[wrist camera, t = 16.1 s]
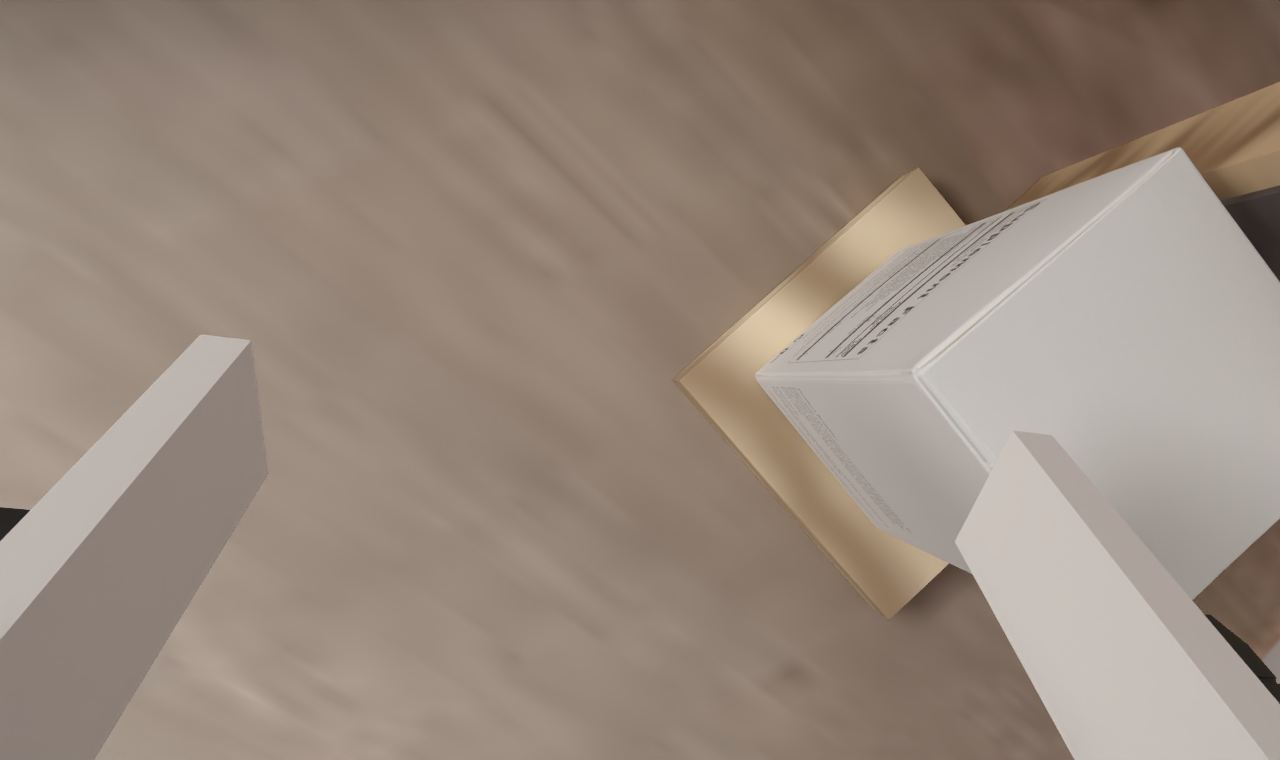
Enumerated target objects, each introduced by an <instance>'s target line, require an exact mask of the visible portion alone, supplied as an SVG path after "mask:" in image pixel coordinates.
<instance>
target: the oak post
mask: <svg viewBox="0 0 1280 760" xmlns="http://www.w3.org/2000/svg"><path fill="white" fill-rule="evenodd" d="M1178 147H1181V148H1182V149H1183V150H1184V152H1185V153H1186V155H1187V156H1188V157H1189V159H1190V160H1191V162H1192V163H1193V164H1194V166H1195V167H1196V169H1197V170H1198V171H1199V173H1200V174H1201V175H1202V177H1203V178H1204V180H1205V181H1206V182H1207V184H1208V185H1209V186H1210V188H1211V189H1212V190H1213V192H1214V193H1215V195H1216V196H1217V197H1218V199H1219V200H1220V201H1221V203H1222V204H1223V206H1224V207H1225V208H1226V210H1227V211H1228V212H1229V214H1230V215H1231V216H1232V218H1233V219H1234V220H1235V222H1236V223H1237V225H1238V226H1239V227H1240V229H1241V230H1242V231H1243V233H1244V234H1245V235H1246V237H1247V238H1248V239H1249V241H1250V242H1251V244H1252V245H1253V246H1254V248H1255V249H1256V250H1257V252H1258V253H1259V254H1260V256H1261V257H1262V258H1263V260H1264V261H1265V263H1266V264H1267V265H1268V267H1269V268H1270V269H1271V271H1272V272H1273V273H1274V275H1275V276H1276V277H1277V279H1278V280H1279V281H1280V82H1278V83H1275V84H1273V85H1270V86H1268V87H1265V88H1263V89H1260V90H1258V91H1255V92H1253V93H1250V94H1248V95H1245V96H1243V97H1240V98H1238V99H1235V100H1233V101H1230V102H1228V103H1225V104H1223V105H1220V106H1218V107H1215V108H1213V109H1210V110H1208V111H1205V112H1203V113H1200V114H1198V115H1196V116H1193V117H1191V118H1188V119H1186V120H1183V121H1181V122H1178V123H1176V124H1173V125H1171V126H1168V127H1166V128H1163V129H1161V130H1158V131H1156V132H1153V133H1151V134H1148V135H1146V136H1143V137H1141V138H1138V139H1136V140H1133V141H1131V142H1128V143H1126V144H1123V145H1121V146H1118V147H1116V148H1113V149H1111V150H1108V151H1106V152H1103V153H1101V154H1098V155H1096V156H1093V157H1091V158H1088V159H1086V160H1083V161H1081V162H1078V163H1076V164H1073V165H1071V166H1068V167H1066V168H1063V169H1061V170H1058V171H1056V172H1053V173H1051V174H1048V175H1046V176H1043V177H1042V178H1041V179H1040V180H1039V181H1038V182H1037V183H1035V184H1034V185H1033V186H1032V187H1031V188H1030V189H1029V190H1028V191H1027V192H1026V193H1024V194H1023V195H1022V196H1021V197H1020V198H1019V199H1018V200H1017V201H1016V202H1015V203H1013V204H1012V205H1011V206H1010V207H1009V208H1008V209H1007V210H1009V209H1012V208H1015V207H1017V206H1020V205H1023V204H1025V203H1028V202H1031V201H1034V200H1037V199H1039V198H1042V197H1045V196H1047V195H1050V194H1053V193H1055V192H1058V191H1060V190H1063V189H1066V188H1068V187H1071V186H1074V185H1077V184H1079V183H1082V182H1085V181H1087V180H1090V179H1093V178H1095V177H1098V176H1101V175H1103V174H1106V173H1109V172H1111V171H1114V170H1117V169H1120V168H1122V167H1125V166H1128V165H1131V164H1133V163H1136V162H1139V161H1142V160H1144V159H1147V158H1150V157H1152V156H1155V155H1158V154H1161V153H1164V152H1166V151H1169V150H1172V149H1174V148H1178Z"/></svg>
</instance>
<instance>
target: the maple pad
mask: <svg viewBox="0 0 1280 760" xmlns="http://www.w3.org/2000/svg"><path fill="white" fill-rule="evenodd" d="M963 226H966V225H965V224H964V222H963V221H962V220H961V219H960V218H959V216H958V215H957V214H956V213H955V211H954V210H953V209H952V208H951V206H950V205H949V204H948V203H947V202H946V200H945V199H944V198H943V197H942V195H941V194H940V193H939V192H938V191H937V189H936V188H935V187H934V186H933V184H932V183H931V182H930V181H929V180H928V178H927V177H926V176H925V175H924V173H923V172H922V171H921V170H920V168H919V167H918V168H916V169H914V170H912V171H911V172H909V173H907V174H905V175H904V176H902V177H900V178H898V179H897V180H896V181H895V182H894V183H893V184H891V185H890V186H889V187H888V188H887V189H886V190H885V191H884V192H883V193H881V194H880V195H879V196H878V197H877V198H876V199H875V200H874V201H872V202H871V203H870V204H869V205H868V206H867V207H866V208H865V209H863V210H862V211H861V212H860V213H859V214H858V215H857V216H856V217H854V218H853V219H852V220H851V221H850V222H849V223H848V224H847V225H846V226H844V227H843V228H842V229H841V230H840V231H839V232H838V233H837V234H835V235H834V236H833V237H832V238H831V239H830V240H829V241H828V242H826V243H825V244H824V245H823V246H822V247H821V248H820V249H819V250H817V251H816V252H815V253H814V254H813V255H812V256H811V257H810V258H809V259H807V260H806V261H805V262H804V263H803V264H802V265H801V266H800V267H798V268H797V269H796V270H795V271H794V272H793V273H792V274H791V275H789V276H788V277H787V278H786V279H785V280H784V281H783V282H782V283H781V284H779V285H778V286H777V287H776V288H775V289H774V290H773V291H772V292H770V293H769V294H768V295H767V296H766V297H765V298H764V299H763V300H761V301H760V302H759V303H758V304H757V305H756V306H755V307H754V308H752V309H751V310H750V311H749V312H748V313H747V314H746V315H745V316H744V317H742V318H741V319H740V320H739V321H738V322H737V323H736V324H735V325H733V326H732V327H731V328H730V329H729V330H728V331H727V332H726V333H724V334H723V335H722V336H721V337H720V338H719V339H718V340H717V341H715V342H714V343H713V344H712V345H711V346H710V347H709V348H708V349H707V350H705V351H704V352H703V353H702V354H701V355H700V356H699V357H698V358H696V359H695V360H694V361H693V362H692V363H691V364H690V365H689V366H687V367H686V368H685V369H684V370H683V371H682V372H681V373H680V374H678V375H677V376H676V377H675V378H674V379H673V381H674V382H675V383H676V385H677V386H678V387H679V388H680V389H681V390H682V391H683V393H684V394H685V395H686V396H687V397H688V398H689V399H690V401H691V402H692V403H693V404H694V405H695V406H696V407H697V409H698V410H699V411H700V412H701V413H702V414H703V415H704V417H705V418H706V419H707V420H708V421H709V422H710V423H711V425H712V426H713V427H714V428H715V429H716V430H717V431H718V433H719V434H720V435H721V436H722V437H723V438H724V439H725V441H726V442H727V443H728V444H729V445H730V446H731V447H732V449H733V450H734V451H735V452H736V453H737V454H738V455H739V457H740V458H741V459H742V460H743V461H744V462H745V463H746V465H747V466H748V467H749V468H750V469H751V470H752V471H753V473H754V474H755V475H756V476H757V477H758V478H759V479H760V481H761V482H762V483H763V484H764V485H765V486H766V487H767V489H768V490H769V491H770V492H771V493H772V494H773V495H774V497H775V498H776V499H777V500H778V501H779V502H780V503H781V505H782V506H783V507H784V508H785V509H786V510H787V511H788V513H789V514H790V515H791V516H792V517H793V518H794V519H795V521H796V522H797V523H798V524H799V525H800V526H801V527H802V529H803V530H804V531H805V532H806V533H807V534H808V535H809V537H810V538H811V539H812V540H813V541H814V542H815V543H816V545H817V546H818V547H819V548H820V549H821V550H822V551H823V553H824V554H825V555H826V556H827V557H828V558H829V559H830V561H831V562H832V563H833V564H834V565H835V566H836V567H837V569H838V570H839V571H840V572H841V573H842V574H843V575H844V577H845V578H846V579H847V580H848V581H849V582H850V583H851V585H852V586H853V587H854V588H855V589H856V590H857V591H858V593H859V594H860V595H861V596H862V597H863V598H864V599H865V601H866V602H867V603H868V604H869V605H870V606H871V607H872V608H873V609H875V610H876V611H877V612H879V613H880V614H881V615H883V616H884V617H885V618H886V619H888V620H890V619H891V618H892V617H893V616H894V615H895V614H896V613H897V612H898V611H899V610H900V609H901V608H902V607H903V606H905V605H906V604H907V603H908V602H909V601H910V600H911V599H912V598H913V597H914V596H915V595H916V594H917V593H918V592H919V591H920V590H921V589H923V588H924V587H925V586H926V585H927V584H928V583H929V582H930V581H931V580H932V579H933V578H934V577H935V576H936V575H937V574H938V573H939V572H941V571H942V570H943V569H944V568H945V567H946V566H947V565H948V564H949V563H948V562H945V561H943V560H941V559H939V558H937V557H935V556H933V555H931V554H929V553H927V552H925V551H923V550H921V549H919V548H916V547H914V546H912V545H910V544H908V543H906V542H904V541H902V540H900V539H898V538H896V537H894V536H892V535H890V534H887V533H885V532H883V531H881V530H879V529H877V528H876V527H875V526H874V524H873V523H872V522H871V521H870V520H869V519H868V517H867V516H866V515H865V514H864V512H863V511H862V510H861V509H860V507H859V506H858V505H857V504H856V503H855V501H854V500H853V499H852V498H851V496H850V495H849V494H848V493H847V492H846V490H845V489H844V488H843V487H842V485H841V484H840V483H839V482H838V481H837V479H836V478H835V477H834V476H833V474H832V473H831V472H830V471H829V469H828V468H827V467H826V466H825V465H824V463H823V462H822V461H821V460H820V458H819V457H818V456H817V455H816V454H815V452H814V451H813V450H812V449H811V447H810V446H809V445H808V444H807V443H806V441H805V440H804V439H803V438H802V436H801V435H800V434H799V433H798V431H797V430H796V429H795V428H794V426H793V425H792V424H791V423H790V421H789V420H788V419H787V418H786V416H785V415H784V414H783V413H782V412H781V410H780V409H779V408H778V407H777V405H776V404H775V403H774V402H773V400H772V399H771V398H770V397H769V396H768V394H767V393H766V392H765V391H764V389H763V388H762V387H761V386H760V384H759V383H758V382H757V380H756V378H755V374H756V372H757V371H758V370H760V369H761V368H762V367H763V366H764V365H765V364H766V363H767V362H769V361H770V360H771V359H772V358H773V357H774V356H776V355H777V354H778V353H779V352H780V351H781V350H783V349H784V348H785V347H786V346H787V345H788V344H790V343H791V342H792V341H793V340H794V339H795V338H797V337H798V336H799V335H800V334H801V333H802V332H804V331H805V330H806V329H807V328H808V327H809V326H811V325H812V324H813V323H814V322H815V321H816V320H818V319H819V318H820V317H821V316H822V315H823V314H825V313H826V312H827V311H828V310H829V309H830V308H832V307H833V306H834V305H835V304H836V303H837V302H839V301H840V300H841V299H842V298H843V297H844V296H846V295H847V294H848V293H849V292H850V291H851V290H853V289H854V288H855V287H856V286H857V285H858V284H860V283H861V282H862V281H863V280H864V279H865V278H867V277H868V276H869V275H870V274H871V273H872V272H873V271H875V270H876V269H877V268H878V267H879V266H880V265H882V264H883V263H884V262H885V261H886V260H887V259H889V258H890V257H891V256H892V255H893V254H895V253H896V252H897V251H898V250H900V249H903V248H906V247H909V246H912V245H914V244H917V243H920V242H923V241H926V240H928V239H931V238H934V237H936V236H939V235H942V234H945V233H947V232H950V231H953V230H955V229H958V228H961V227H963Z"/></svg>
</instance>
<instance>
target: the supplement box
mask: <svg viewBox="0 0 1280 760" xmlns="http://www.w3.org/2000/svg"><path fill="white" fill-rule="evenodd" d="M755 378H756V380H757V382H758V383H759V384H760V386H761V387H762V388H763V389H764V391H765V392H766V393H767V394H768V396H769V397H770V398H771V399H772V400H773V402H774V403H775V404H776V405H777V407H778V408H779V409H780V410H781V412H782V413H783V414H784V415H785V416H786V418H787V419H788V420H789V421H790V423H791V424H792V425H793V426H794V428H795V429H796V430H797V431H798V433H799V434H800V435H801V436H802V438H803V439H804V440H805V441H806V443H807V444H808V445H809V446H810V447H811V449H812V450H813V451H814V452H815V454H816V455H817V456H818V457H819V458H820V460H821V461H822V462H823V463H824V465H825V466H826V467H827V468H828V469H829V471H830V472H831V473H832V474H833V476H834V477H835V478H836V479H837V481H838V482H839V483H840V484H841V485H842V487H843V488H844V489H845V490H846V492H847V493H848V494H849V495H850V496H851V498H852V499H853V500H854V501H855V503H856V504H857V505H858V506H859V507H860V509H861V510H862V511H863V512H864V514H865V515H866V516H867V517H868V519H869V520H870V521H871V522H872V523H873V524H874V526H875V527H876V528H877V529H879V530H881V531H883V532H885V533H887V534H890V535H892V536H894V537H896V538H898V539H900V540H902V541H904V542H906V543H908V544H910V545H912V546H914V547H916V548H919V549H921V550H923V551H925V552H927V553H929V554H931V555H933V556H935V557H937V558H939V559H941V560H943V561H945V562H948V563H950V564H952V565H954V566H956V567H958V568H960V569H962V570H965V571H967V572H968V573H970V574H972V572H971V570H970V569H969V567H968V565H967V563H966V561H965V559H964V558H963V556H962V554H961V552H960V550H959V549H958V547H957V545H956V543H955V540H956V538H957V536H958V534H959V533H960V531H961V529H962V527H963V525H964V523H965V521H966V519H967V517H968V515H969V513H970V511H971V510H972V508H973V506H974V504H975V502H976V500H977V498H978V496H979V494H980V492H981V490H982V488H983V487H984V485H985V483H986V481H987V479H988V477H989V475H990V473H991V471H992V469H993V467H994V465H995V464H996V462H997V460H998V458H999V456H1000V454H1001V452H1002V450H1003V448H1004V446H1005V444H1006V442H1007V441H1008V439H1009V437H1010V435H1011V433H1012V431H1021V432H1030V433H1038V434H1047V435H1052V436H1053V437H1054V438H1055V439H1056V440H1057V442H1058V443H1059V444H1060V445H1061V446H1062V448H1063V449H1064V450H1065V451H1066V452H1067V453H1068V455H1069V456H1070V457H1071V458H1072V459H1073V460H1074V462H1075V463H1076V464H1077V465H1078V466H1079V468H1080V469H1081V470H1082V471H1083V472H1084V473H1085V475H1086V476H1087V477H1088V478H1089V479H1090V481H1091V482H1092V483H1093V484H1094V485H1095V486H1096V488H1097V489H1098V490H1099V491H1100V492H1101V494H1102V495H1103V496H1104V497H1105V498H1106V499H1107V501H1108V502H1109V503H1110V504H1111V505H1112V507H1113V508H1114V509H1115V510H1116V511H1117V512H1118V514H1119V515H1120V516H1121V517H1122V518H1123V520H1124V521H1125V522H1126V523H1127V524H1128V525H1129V527H1130V528H1131V529H1132V530H1133V531H1134V532H1135V534H1136V535H1137V536H1138V537H1139V538H1140V540H1141V541H1142V542H1143V543H1144V544H1145V545H1146V547H1147V548H1148V549H1149V550H1150V551H1151V553H1152V554H1153V555H1154V556H1155V557H1156V558H1157V560H1158V561H1159V562H1160V563H1161V564H1162V566H1163V567H1164V568H1165V569H1166V570H1167V571H1168V573H1169V574H1170V575H1171V576H1172V577H1173V579H1174V580H1175V581H1176V582H1177V583H1178V584H1179V586H1180V587H1181V588H1182V589H1183V590H1184V592H1185V593H1186V594H1187V595H1188V596H1189V597H1190V599H1191V600H1193V599H1194V598H1195V597H1196V596H1197V595H1198V594H1199V593H1201V592H1202V591H1203V590H1204V589H1205V588H1206V587H1207V586H1208V585H1209V584H1210V583H1211V582H1212V581H1213V580H1214V579H1215V578H1216V577H1217V576H1219V575H1220V574H1221V573H1222V572H1223V571H1224V570H1225V569H1226V568H1227V567H1228V566H1229V565H1230V564H1231V563H1232V562H1233V561H1235V560H1236V559H1237V558H1238V557H1239V556H1240V555H1241V554H1242V553H1243V552H1244V551H1245V550H1246V549H1247V548H1248V547H1249V546H1251V545H1252V544H1253V543H1254V542H1255V541H1256V540H1257V539H1258V538H1259V537H1260V536H1261V535H1263V534H1264V533H1265V532H1266V531H1267V530H1268V529H1269V528H1270V527H1271V526H1272V525H1273V524H1275V523H1276V522H1277V521H1278V520H1279V519H1280V281H1279V280H1278V279H1277V277H1276V276H1275V275H1274V273H1273V272H1272V271H1271V269H1270V268H1269V267H1268V265H1267V264H1266V263H1265V261H1264V260H1263V258H1262V257H1261V256H1260V254H1259V253H1258V252H1257V250H1256V249H1255V248H1254V246H1253V245H1252V244H1251V242H1250V241H1249V239H1248V238H1247V237H1246V235H1245V234H1244V233H1243V231H1242V230H1241V229H1240V227H1239V226H1238V225H1237V223H1236V222H1235V220H1234V219H1233V218H1232V216H1231V215H1230V214H1229V212H1228V211H1227V210H1226V208H1225V207H1224V206H1223V204H1222V203H1221V201H1220V200H1219V199H1218V197H1217V196H1216V195H1215V193H1214V192H1213V190H1212V189H1211V188H1210V186H1209V185H1208V184H1207V182H1206V181H1205V180H1204V178H1203V177H1202V175H1201V174H1200V173H1199V171H1198V170H1197V169H1196V167H1195V166H1194V164H1193V163H1192V162H1191V160H1190V159H1189V157H1188V156H1187V155H1186V153H1185V152H1184V150H1183V149H1182V148H1181V147H1178V148H1174V149H1172V150H1169V151H1166V152H1164V153H1161V154H1158V155H1155V156H1152V157H1150V158H1147V159H1144V160H1142V161H1139V162H1136V163H1133V164H1131V165H1128V166H1125V167H1122V168H1120V169H1117V170H1114V171H1111V172H1109V173H1106V174H1103V175H1101V176H1098V177H1095V178H1093V179H1090V180H1087V181H1085V182H1082V183H1079V184H1077V185H1074V186H1071V187H1068V188H1066V189H1063V190H1060V191H1058V192H1055V193H1053V194H1050V195H1047V196H1045V197H1042V198H1039V199H1037V200H1034V201H1031V202H1028V203H1025V204H1023V205H1020V206H1017V207H1015V208H1012V209H1009V210H1006V211H1004V212H1001V213H999V214H996V215H993V216H991V217H988V218H985V219H982V220H980V221H977V222H974V223H972V224H969V225H966V226H963V227H961V228H958V229H955V230H953V231H950V232H947V233H945V234H942V235H939V236H936V237H934V238H931V239H928V240H926V241H923V242H920V243H917V244H914V245H912V246H909V247H906V248H903V249H900V250H898V251H897V252H896V253H895V254H893V255H892V256H891V257H890V258H889V259H887V260H886V261H885V262H884V263H883V264H882V265H880V266H879V267H878V268H877V269H876V270H875V271H873V272H872V273H871V274H870V275H869V276H868V277H867V278H865V279H864V280H863V281H862V282H861V283H860V284H858V285H857V286H856V287H855V288H854V289H853V290H851V291H850V292H849V293H848V294H847V295H846V296H844V297H843V298H842V299H841V300H840V301H839V302H837V303H836V304H835V305H834V306H833V307H832V308H830V309H829V310H828V311H827V312H826V313H825V314H823V315H822V316H821V317H820V318H819V319H818V320H816V321H815V322H814V323H813V324H812V325H811V326H809V327H808V328H807V329H806V330H805V331H804V332H802V333H801V334H800V335H799V336H798V337H797V338H795V339H794V340H793V341H792V342H791V343H790V344H788V345H787V346H786V347H785V348H784V349H783V350H781V351H780V352H779V353H778V354H777V355H776V356H774V357H773V358H772V359H771V360H770V361H769V362H767V363H766V364H765V365H764V366H763V367H762V368H761V369H760V370H758V371H757V372H756V374H755Z"/></svg>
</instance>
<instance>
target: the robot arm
mask: <svg viewBox="0 0 1280 760" xmlns="http://www.w3.org/2000/svg"><path fill="white" fill-rule="evenodd" d="M267 475H268V468H267V461H266V453H265V445H264V437H263V429H262V421H261V414H260V406H259V398H258V390H257V382H256V374H255V367H254V359H253V351H252V343H251V340H243V339H235V338H227V337H218V336H210V335H200V336H199V337H198V338H197V339H196V340H195V341H194V342H193V343H192V344H191V345H190V346H189V347H188V348H187V349H186V350H185V351H184V352H183V353H182V354H181V355H180V356H179V357H178V358H177V359H176V361H175V362H174V363H173V364H172V365H171V366H170V367H169V368H168V369H167V370H166V371H165V372H164V373H163V374H162V375H161V376H160V377H159V378H158V379H157V380H156V381H155V382H154V383H153V384H152V385H151V386H150V387H149V388H148V389H147V390H146V391H145V393H144V394H143V395H142V396H141V397H140V398H139V399H138V400H137V401H136V402H135V403H134V404H133V405H132V406H131V407H130V408H129V409H128V410H127V411H126V412H125V413H124V414H123V415H122V416H121V417H120V418H119V419H118V420H117V421H116V422H115V423H114V424H113V426H112V427H111V428H110V429H109V430H108V431H107V432H106V433H105V434H104V435H103V436H102V437H101V438H100V439H99V440H98V441H97V442H96V443H95V444H94V445H93V446H92V447H91V448H90V449H89V450H88V451H87V452H86V453H85V454H84V455H83V456H82V457H81V459H80V460H79V461H78V462H77V463H76V464H75V465H74V466H73V467H72V468H71V469H70V470H69V471H68V472H67V473H66V474H65V475H64V476H63V477H62V478H61V479H60V480H59V481H58V482H57V483H56V484H55V485H54V486H53V487H52V488H51V489H50V490H49V492H48V493H47V494H46V495H45V496H44V497H43V498H42V499H41V500H40V501H39V502H38V503H37V504H36V505H35V506H34V507H33V508H32V509H31V510H24V509H13V508H2V507H0V760H94V759H95V757H96V756H97V754H98V752H99V751H100V749H101V748H102V746H103V744H104V743H105V741H106V739H107V738H108V736H109V734H110V733H111V731H112V729H113V728H114V726H115V725H116V723H117V721H118V720H119V718H120V716H121V715H122V713H123V711H124V710H125V708H126V706H127V705H128V703H129V701H130V700H131V698H132V697H133V695H134V693H135V692H136V690H137V688H138V687H139V685H140V683H141V682H142V680H143V678H144V677H145V675H146V674H147V672H148V670H149V669H150V667H151V665H152V664H153V662H154V660H155V659H156V657H157V655H158V654H159V652H160V651H161V649H162V647H163V646H164V644H165V642H166V641H167V639H168V637H169V636H170V634H171V632H172V631H173V629H174V628H175V626H176V624H177V623H178V621H179V619H180V618H181V616H182V614H183V613H184V611H185V609H186V608H187V606H188V605H189V603H190V601H191V600H192V598H193V596H194V595H195V593H196V591H197V590H198V588H199V586H200V585H201V583H202V582H203V580H204V578H205V577H206V575H207V573H208V572H209V570H210V568H211V567H212V565H213V563H214V562H215V560H216V559H217V557H218V555H219V554H220V552H221V550H222V549H223V547H224V545H225V544H226V542H227V540H228V539H229V537H230V536H231V534H232V532H233V531H234V529H235V527H236V526H237V524H238V522H239V521H240V519H241V517H242V516H243V514H244V513H245V511H246V509H247V508H248V506H249V504H250V503H251V501H252V499H253V498H254V496H255V494H256V493H257V491H258V490H259V488H260V486H261V485H262V483H263V481H264V480H265V478H266V476H267ZM955 543H956V545H957V547H958V549H959V550H960V552H961V554H962V556H963V558H964V559H965V561H966V563H967V565H968V567H969V569H970V570H971V572H972V574H973V576H974V578H975V579H976V581H977V583H978V585H979V587H980V589H981V590H982V592H983V594H984V596H985V598H986V600H987V601H988V603H989V605H990V607H991V609H992V610H993V612H994V614H995V616H996V618H997V620H998V621H999V623H1000V625H1001V627H1002V629H1003V630H1004V632H1005V634H1006V636H1007V638H1008V640H1009V641H1010V643H1011V645H1012V647H1013V649H1014V651H1015V652H1016V654H1017V656H1018V658H1019V660H1020V661H1021V663H1022V665H1023V667H1024V669H1025V671H1026V672H1027V674H1028V676H1029V678H1030V680H1031V681H1032V683H1033V685H1034V687H1035V689H1036V691H1037V692H1038V694H1039V696H1040V698H1041V700H1042V702H1043V703H1044V705H1045V707H1046V709H1047V711H1048V712H1049V714H1050V716H1051V718H1052V720H1053V722H1054V723H1055V725H1056V727H1057V729H1058V731H1059V732H1060V734H1061V736H1062V738H1063V740H1064V742H1065V743H1066V745H1067V747H1068V749H1069V751H1070V753H1071V754H1072V756H1073V758H1074V760H1280V684H1277V683H1276V680H1275V679H1276V677H1275V676H1274V675H1273V673H1272V672H1271V671H1270V670H1269V669H1268V668H1267V666H1266V665H1265V664H1264V663H1263V662H1262V661H1261V660H1260V658H1259V657H1258V656H1257V655H1256V654H1255V653H1254V651H1253V650H1252V649H1251V648H1250V647H1249V646H1248V645H1247V644H1246V643H1245V642H1244V641H1242V640H1241V639H1240V638H1239V637H1237V636H1236V635H1235V634H1234V633H1232V632H1231V631H1230V630H1229V629H1227V628H1226V627H1225V626H1224V625H1222V624H1221V623H1220V622H1219V621H1217V620H1216V619H1215V618H1213V617H1212V616H1211V615H1206V614H1203V613H1202V612H1201V610H1200V609H1199V608H1198V607H1197V606H1196V604H1195V603H1194V602H1193V601H1192V600H1191V599H1190V597H1189V596H1188V595H1187V594H1186V593H1185V592H1184V590H1183V589H1182V588H1181V587H1180V586H1179V584H1178V583H1177V582H1176V581H1175V580H1174V579H1173V577H1172V576H1171V575H1170V574H1169V573H1168V571H1167V570H1166V569H1165V568H1164V567H1163V566H1162V564H1161V563H1160V562H1159V561H1158V560H1157V558H1156V557H1155V556H1154V555H1153V554H1152V553H1151V551H1150V550H1149V549H1148V548H1147V547H1146V545H1145V544H1144V543H1143V542H1142V541H1141V540H1140V538H1139V537H1138V536H1137V535H1136V534H1135V532H1134V531H1133V530H1132V529H1131V528H1130V527H1129V525H1128V524H1127V523H1126V522H1125V521H1124V520H1123V518H1122V517H1121V516H1120V515H1119V514H1118V512H1117V511H1116V510H1115V509H1114V508H1113V507H1112V505H1111V504H1110V503H1109V502H1108V501H1107V499H1106V498H1105V497H1104V496H1103V495H1102V494H1101V492H1100V491H1099V490H1098V489H1097V488H1096V486H1095V485H1094V484H1093V483H1092V482H1091V481H1090V479H1089V478H1088V477H1087V476H1086V475H1085V473H1084V472H1083V471H1082V470H1081V469H1080V468H1079V466H1078V465H1077V464H1076V463H1075V462H1074V460H1073V459H1072V458H1071V457H1070V456H1069V455H1068V453H1067V452H1066V451H1065V450H1064V449H1063V448H1062V446H1061V445H1060V444H1059V443H1058V442H1057V440H1056V439H1055V438H1054V437H1053V436H1052V435H1047V434H1038V433H1030V432H1021V431H1012V433H1011V435H1010V437H1009V439H1008V441H1007V442H1006V444H1005V446H1004V448H1003V450H1002V452H1001V454H1000V456H999V458H998V460H997V462H996V464H995V465H994V467H993V469H992V471H991V473H990V475H989V477H988V479H987V481H986V483H985V485H984V487H983V488H982V490H981V492H980V494H979V496H978V498H977V500H976V502H975V504H974V506H973V508H972V510H971V511H970V513H969V515H968V517H967V519H966V521H965V523H964V525H963V527H962V529H961V531H960V533H959V534H958V536H957V538H956V540H955Z"/></svg>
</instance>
